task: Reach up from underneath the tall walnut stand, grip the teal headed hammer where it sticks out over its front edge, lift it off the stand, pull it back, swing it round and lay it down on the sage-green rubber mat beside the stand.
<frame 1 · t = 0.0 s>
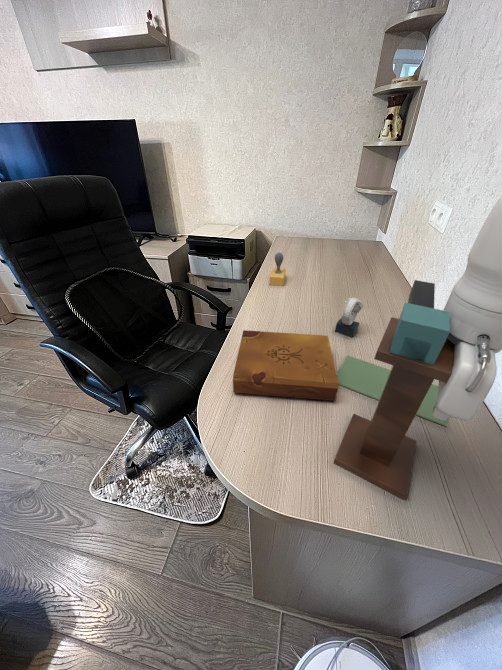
hand: (440, 394, 43), 16 cm above the table, tool pointing down, fingers open, 8 cm apart
watch: (345, 331, 86), on the table
stand: (374, 453, 52), on the table
rubber stamp: (277, 281, 117), on the table
teal headed hammer: (415, 323, 41), point 26 cm above the table, touching stand
diary: (283, 372, 71), on the table
mat: (389, 386, 66), on the table
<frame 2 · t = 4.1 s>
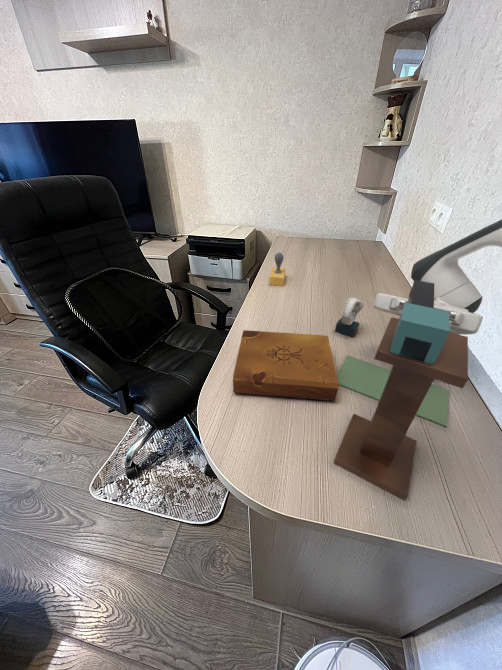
hand: (426, 309, 55), 21 cm above the table, tool pointing upward, fingers open, 8 cm apart
nothing on the table moved.
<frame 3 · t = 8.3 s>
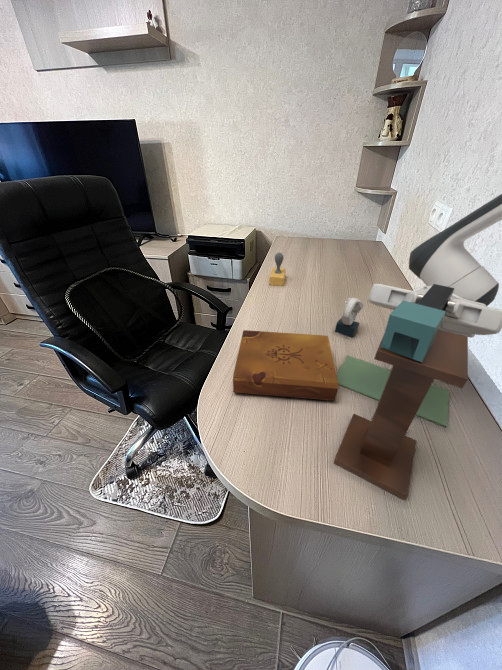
hand: (434, 303, 43), 28 cm above the table, tool pointing upward, fingers closed on teal headed hammer, 3 cm apart
teal headed hammer: (421, 324, 41), point 26 cm above the table, touching gripper, stand
everything else where it was.
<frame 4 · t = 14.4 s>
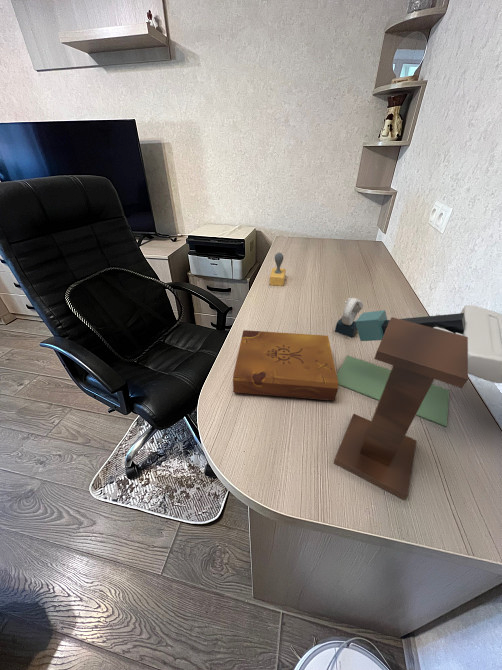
hand: (433, 324, 54), 19 cm above the table, tool horizontal, fingers closed on teal headed hammer, 3 cm apart
teal headed hammer: (409, 333, 58), point 15 cm above the table, tilted 27°, touching gripper
everything else where it was.
when the fingers open (6 cm above the table, at t = 18.2 s): teal headed hammer drops 3 cm, resting on mat.
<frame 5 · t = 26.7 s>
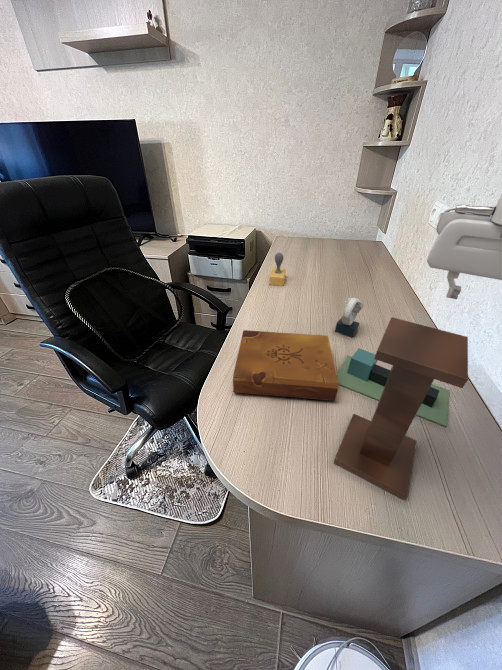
hand: (485, 304, 44), 27 cm above the table, tool pointing down, fingers open, 8 cm apart
teal headed hammer: (388, 384, 67), resting on mat
everything else where it was.
at the end: teal headed hammer inside the target area on the mat (0.4 cm from its centre), point 0.4 cm above the mat's base; teal headed hammer touching mat; the gripper is holding nothing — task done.
